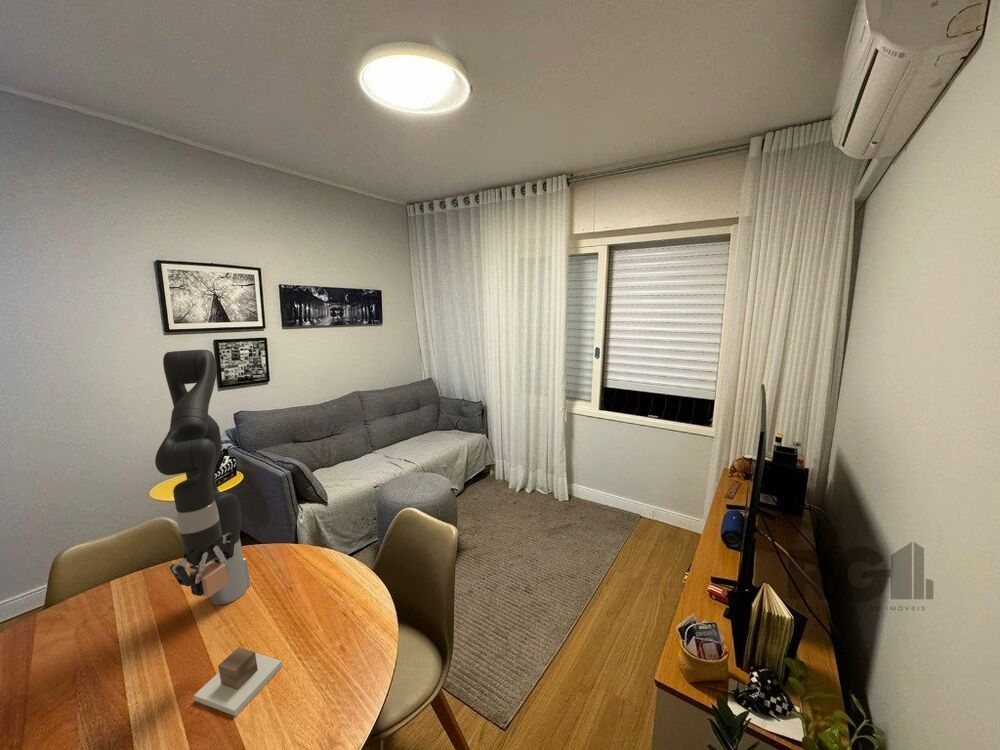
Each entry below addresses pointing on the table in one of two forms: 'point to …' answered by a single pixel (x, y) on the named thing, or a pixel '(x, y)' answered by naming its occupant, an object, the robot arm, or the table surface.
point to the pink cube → (214, 578)
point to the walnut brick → (237, 668)
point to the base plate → (238, 699)
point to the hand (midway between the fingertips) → (211, 586)
